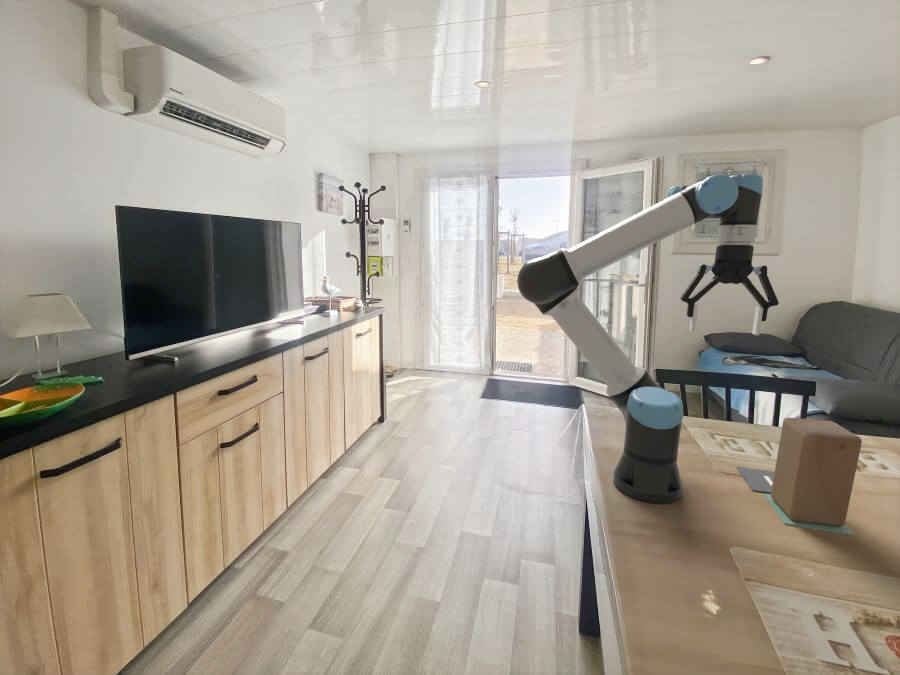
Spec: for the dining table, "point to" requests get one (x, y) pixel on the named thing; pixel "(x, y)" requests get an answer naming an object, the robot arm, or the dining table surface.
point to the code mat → (758, 479)
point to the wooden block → (815, 470)
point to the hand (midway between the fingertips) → (723, 332)
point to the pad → (788, 521)
